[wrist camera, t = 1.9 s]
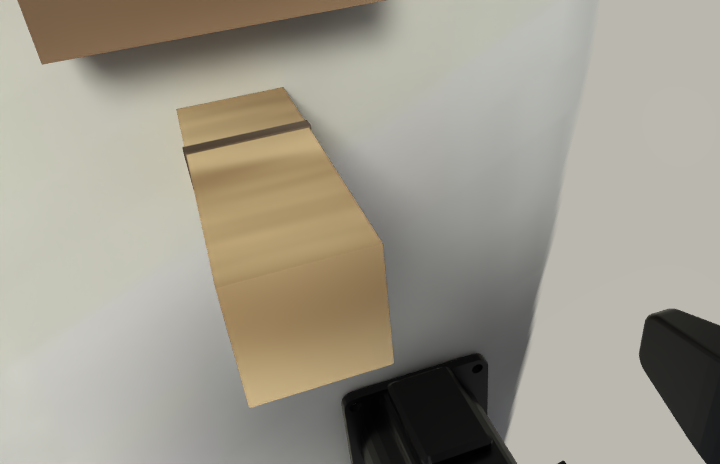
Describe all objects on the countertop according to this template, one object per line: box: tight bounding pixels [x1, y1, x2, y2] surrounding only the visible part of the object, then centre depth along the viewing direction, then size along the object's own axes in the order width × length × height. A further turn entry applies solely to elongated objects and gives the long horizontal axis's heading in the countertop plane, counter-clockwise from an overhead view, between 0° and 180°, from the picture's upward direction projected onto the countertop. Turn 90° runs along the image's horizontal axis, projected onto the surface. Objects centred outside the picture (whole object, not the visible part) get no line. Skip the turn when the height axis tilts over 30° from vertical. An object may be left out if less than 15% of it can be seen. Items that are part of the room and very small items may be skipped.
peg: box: [176, 87, 394, 408], centre depth 17 cm, size 3×3×9 cm
